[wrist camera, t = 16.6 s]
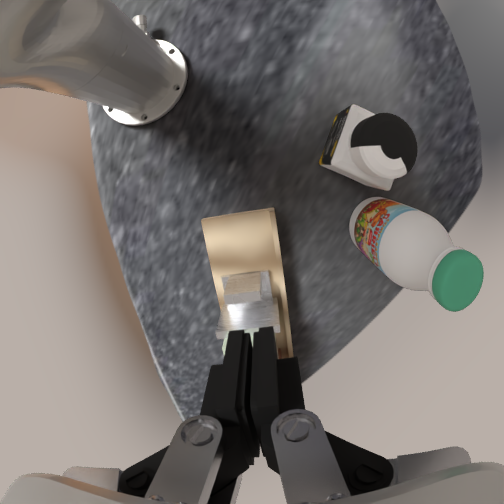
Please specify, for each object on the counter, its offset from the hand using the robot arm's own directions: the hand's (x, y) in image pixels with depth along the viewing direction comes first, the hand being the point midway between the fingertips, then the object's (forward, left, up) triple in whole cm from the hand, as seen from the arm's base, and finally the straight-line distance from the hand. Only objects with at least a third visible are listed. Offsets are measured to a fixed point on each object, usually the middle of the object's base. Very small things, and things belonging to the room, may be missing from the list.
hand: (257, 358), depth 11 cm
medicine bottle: (-8, +13, -27) cm, 30 cm away
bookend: (+8, -3, -25) cm, 27 cm away
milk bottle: (+2, +15, -27) cm, 31 cm away
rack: (+10, -3, -26) cm, 29 cm away
